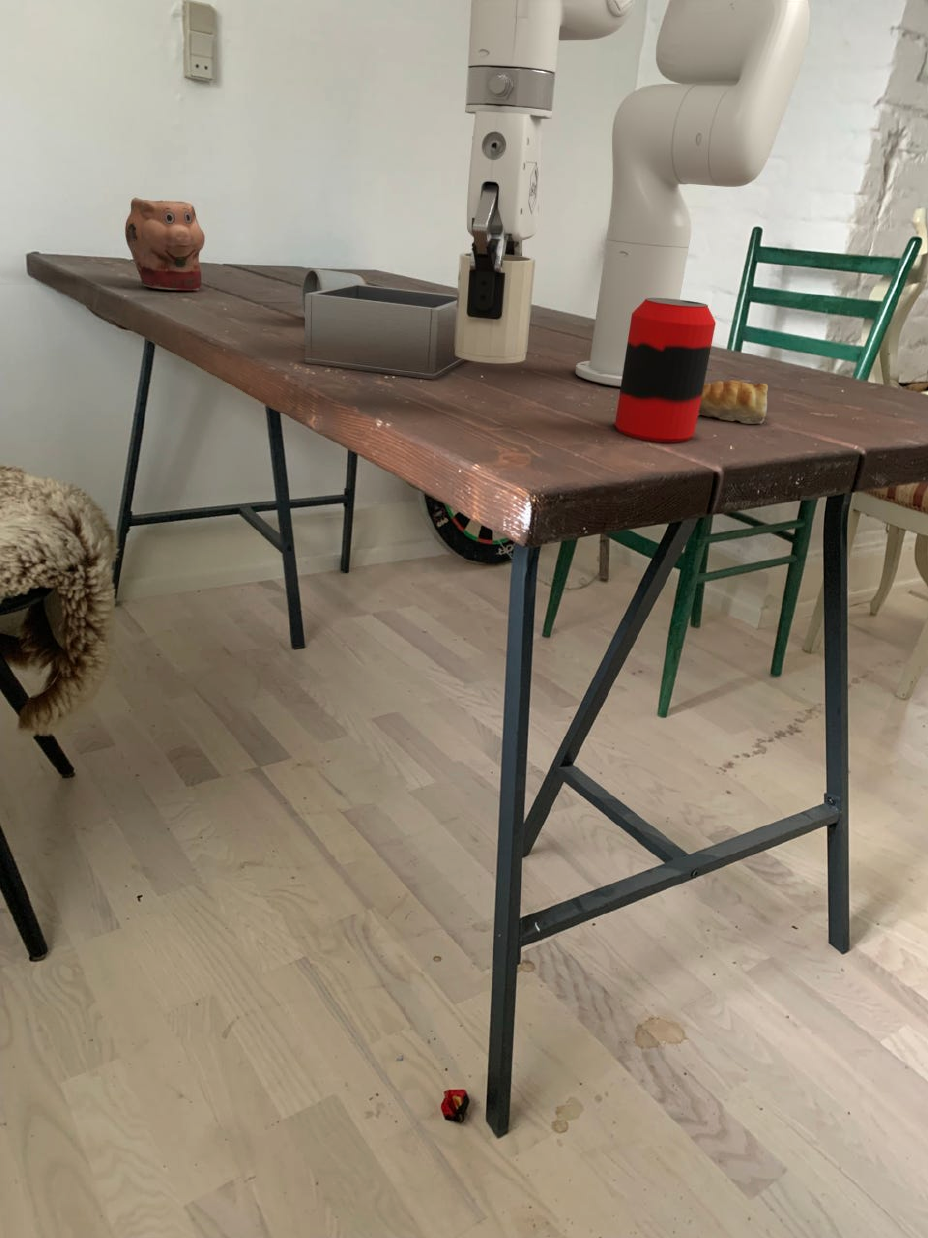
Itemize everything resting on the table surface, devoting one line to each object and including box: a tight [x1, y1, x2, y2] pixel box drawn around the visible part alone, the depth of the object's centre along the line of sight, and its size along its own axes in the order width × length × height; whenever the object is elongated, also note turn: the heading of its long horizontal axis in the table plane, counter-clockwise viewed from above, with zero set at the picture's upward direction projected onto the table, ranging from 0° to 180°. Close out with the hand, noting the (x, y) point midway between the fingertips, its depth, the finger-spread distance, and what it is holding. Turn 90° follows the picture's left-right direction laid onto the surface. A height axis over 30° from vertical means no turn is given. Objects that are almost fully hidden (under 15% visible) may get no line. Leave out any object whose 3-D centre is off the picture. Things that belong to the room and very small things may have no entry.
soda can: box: [614, 298, 717, 444], centre depth 85 cm, size 8×8×12 cm
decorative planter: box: [124, 197, 206, 291], centre depth 153 cm, size 20×12×14 cm, turn 40°
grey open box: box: [304, 284, 467, 381], centre depth 108 cm, size 16×16×8 cm
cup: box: [454, 252, 536, 365], centre depth 86 cm, size 7×7×9 cm
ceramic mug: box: [300, 268, 368, 318], centre depth 132 cm, size 11×8×8 cm
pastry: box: [698, 379, 769, 425], centre depth 97 cm, size 9×7×4 cm
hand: (493, 310), depth 86 cm, fingers closed on cup, 7 cm apart
